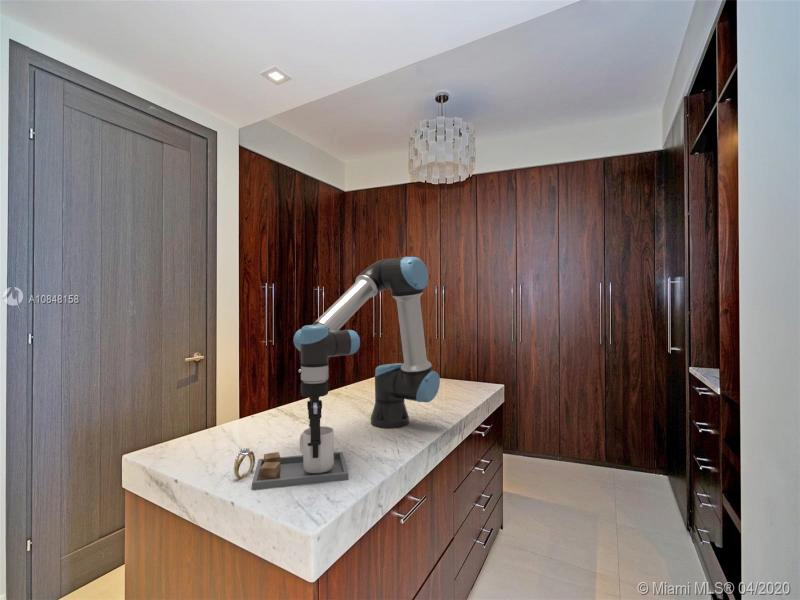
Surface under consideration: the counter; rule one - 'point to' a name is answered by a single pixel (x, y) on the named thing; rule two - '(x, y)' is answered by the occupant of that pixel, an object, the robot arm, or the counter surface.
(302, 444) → the cup
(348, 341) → the robot arm
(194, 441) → the counter surface
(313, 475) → the tray
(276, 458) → the block
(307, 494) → the counter surface
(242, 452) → the ring
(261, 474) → the block
